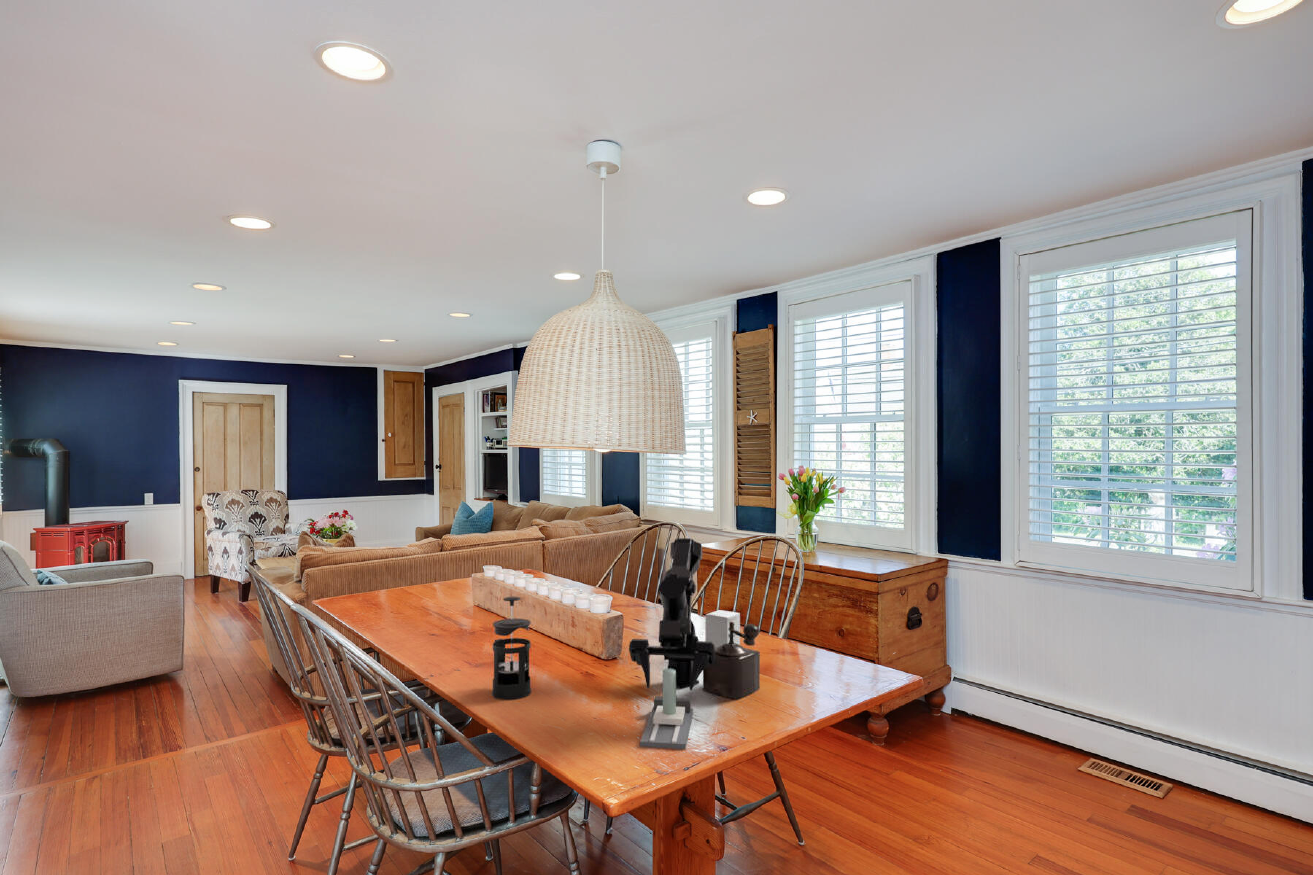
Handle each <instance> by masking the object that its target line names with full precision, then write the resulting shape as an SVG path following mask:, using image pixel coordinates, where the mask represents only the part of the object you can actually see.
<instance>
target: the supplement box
mask: <svg viewBox="0 0 1313 875" xmlns="http://www.w3.org/2000/svg"><path fill="white" fill-rule="evenodd" d="M730 622H734V629H735V630H736V631H738V632H740V633H741V613H740V612H736V611H728V610H722V609H718V610H715V611H712V612H709V613H706V614H705V622H704V623H705V636H704V637H705V639H704V641H707V642H713V644H714V647H715V648H716V647H719V646H721V645H723V644H726V643H729V641H730V631H729V627H730V626H729V623H730ZM740 640H741V637H740V636H738V635H736V634H733V641H734V643H736V644H738V645H740V646H741V641H740Z"/></svg>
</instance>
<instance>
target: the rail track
mask: <svg viewBox="0 0 1313 875" xmlns="http://www.w3.org/2000/svg"><path fill="white" fill-rule="evenodd" d="M691 700H692V698H691V697H677V696H676V707H685V714H684V718H683V723H682V725H669V724H653V717H654V714H655V711H656V709H657V706H663V696H654V699H653V707H652V709H651V711H650V714H649V717H648V720H647V722H646V725H645V728H644V730H643V733H642V735H641V738H640V741H639V747H641V748H658V749H676V750H686V749H687V744H688V740H689V736H690V730H691V727H692V726H691V725H692V722H693V716H694V708H692V701H691Z"/></svg>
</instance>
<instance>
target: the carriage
mask: <svg viewBox="0 0 1313 875" xmlns="http://www.w3.org/2000/svg"><path fill="white" fill-rule="evenodd" d="M662 697H663V706H657V709H656V711H655V714H654V717H653V724H669V725H682V723H683V718H684V714H685V707H676V697H677V687H676V670H674V669H667V668H664V669H662Z"/></svg>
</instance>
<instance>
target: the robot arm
mask: <svg viewBox="0 0 1313 875" xmlns="http://www.w3.org/2000/svg"><path fill="white" fill-rule="evenodd" d="M669 553H670V555H669V556H670V559H671V560H672V565H671V568H669V569H668V570H666V571H665V574H664V577H663V579H661V581H660V584H659V587H658V593H659V595H660V601H661V605H662V609H663V612H662V620H659V624H658V625H659V626H658V627H659V630H658V643H659V645H650V644H649V639H645V638H644V639H643V638H633V639H631V640H630V641H629V645H628V652H629V655H630V659H631V661H632V662H634V663H636V665H638V666H641V668H642V671H643V674H644V679H645V685H646V687H647V689H649V688H650V687H651V686H650V685H651V662H650V656H663V660H664V661H668V662H667V664H668V665H667V668H666V669H674V670H676V688H679V689H684V688H687V687H689V690H690V691H692V690H693V689H694V687H695V685H697V684H699V683H700V680H698V679H699V677H700V675H701V673H703V669H704V668H708V667H709V665H713V664H715V647H714V644H713V642H707V641H705V640H704V641H703V640H702V641H700V640H699V637H698V636H697V635H696V628H695V625H694V622H693V621H692V619H691V618H692V617H691V616H692V602H693V599H692V598H693V597H692V596H694V594H696V591H697V585H696V583H695V580H694V575H695V574H696V572H697V571H698V570H699V569H700V563H701V562H700V561H702V560H703V545H702V543H700V542H697V541H696V540H695V539H692V538H688V537H687V538H686V537H684V538H682V537H680V538H679V537H678V538H676V539H674V541H672V542H671V543H670V552H669Z"/></svg>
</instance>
